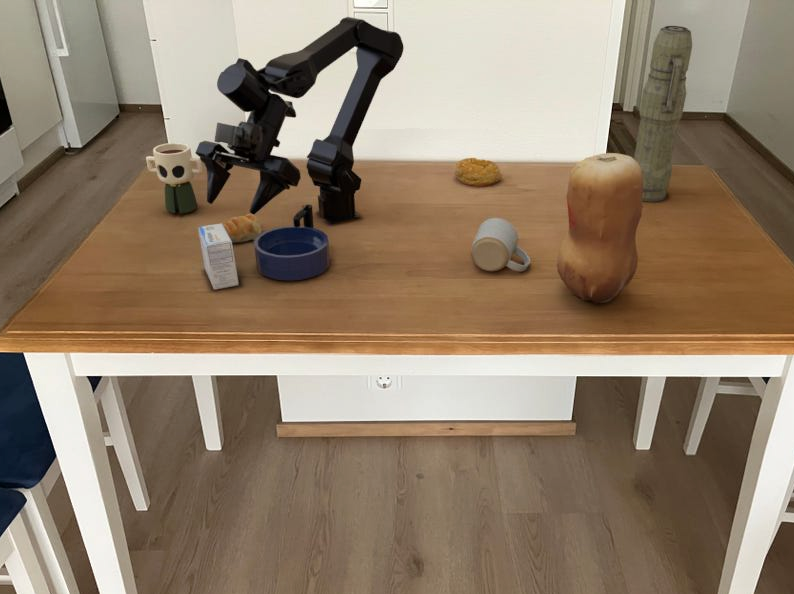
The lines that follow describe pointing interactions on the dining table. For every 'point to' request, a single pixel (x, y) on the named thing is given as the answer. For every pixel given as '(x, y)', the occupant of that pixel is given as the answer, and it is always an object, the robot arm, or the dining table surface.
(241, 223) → the pastry
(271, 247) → the basin
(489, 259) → the ceramic mug
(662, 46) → the thermos
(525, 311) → the dining table surface
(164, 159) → the character mug
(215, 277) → the medicine box
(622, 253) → the butternut squash
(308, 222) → the tap
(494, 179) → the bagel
